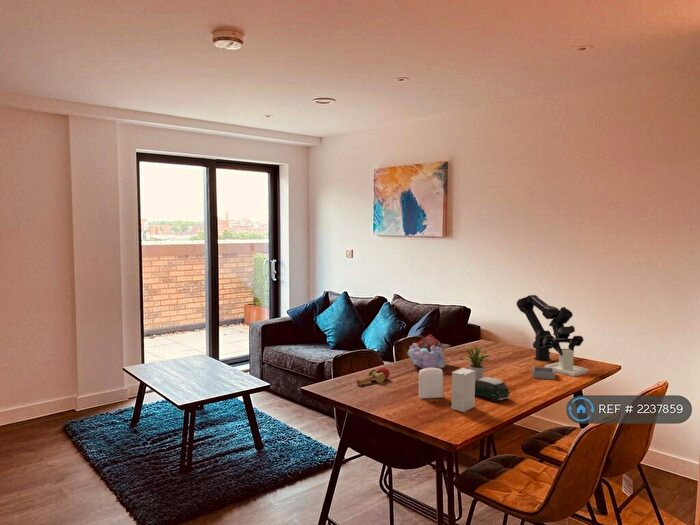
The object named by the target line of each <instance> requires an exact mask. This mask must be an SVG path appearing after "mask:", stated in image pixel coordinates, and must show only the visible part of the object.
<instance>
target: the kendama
mask: <svg viewBox="0 0 700 525" xmlns="http://www.w3.org/2000/svg"><path fill="white" fill-rule="evenodd" d="M367 374H368V376H365V377H361V378H358V379H357V380H356V384H357V386H359V387H361V386H363V385H365V384H367V383H369V382H370V381H372V380H374V379H375V381H376V383H378V384H382V383H384V382H385V381H387V379H388V378H390V374H391V373H390V371H389V369H388V368H387V367H384V366H380V367H379V368H378V369H377V370H376V369H375V368H371V369H370V370H369V371H368V373H367Z"/></svg>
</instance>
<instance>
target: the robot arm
mask: <svg viewBox="0 0 700 525" xmlns="http://www.w3.org/2000/svg"><path fill="white" fill-rule="evenodd" d="M516 307H517V308H518V310H519V311H520V312H521V313H523V314H524V315H525V316H526V318H527V320H528V322H529V324H530V326H531V327H532V330H533V332H534V334H535V337H534V339H535V340H534V341H533V342H532V348H533V349H535V357H533V360H537V361H541V362H547V361H551V360H552V359H551V358H550V357H551V353H550V350H552V349H553V350H555V352H557V353H558V355H559V354H560V355H561V356H562V355H563V354H562V350H561V349H562V348H561V345H560V343H562V344H564V343H565V344H566V343H567V344H568V346H567V347H568V348H567V349H571V350H573V351H574V350H575V347H580V346H581V345H582V343H584V337H583V335H574V336H572V338H570V336H571V335H570V334H573V333H575V332H576V329H575V326H574V325H569V326H565V324H567V323H568V322H569V321H570V320H571V319H572V317H573V316H574V315H573V312H572V311H571V310H570V309H568V308H567V307H566V306H563V307H562V306H561V307H560V309H559V307H555V306H553V305H549V304H548V303H546V302H545V301H543V299H541V298H540V297H539V296H538V295H536V294H530V295H527V296H525V297H523V298H519V299H518V300H517V301H516ZM534 307H536V308H537V309H538V310H539V311H540V312H542V316H543V317H544V318H545V319H546V320H551V321H550V323H549V327H551V328H552V331H553V335H552V333H551V332H550V330H546V329H544V327H543V325H542V323H541V321H540V320H539V318H538V317H537V315H536V314H537V313H535V310H534ZM574 352H575V351H574Z"/></svg>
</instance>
